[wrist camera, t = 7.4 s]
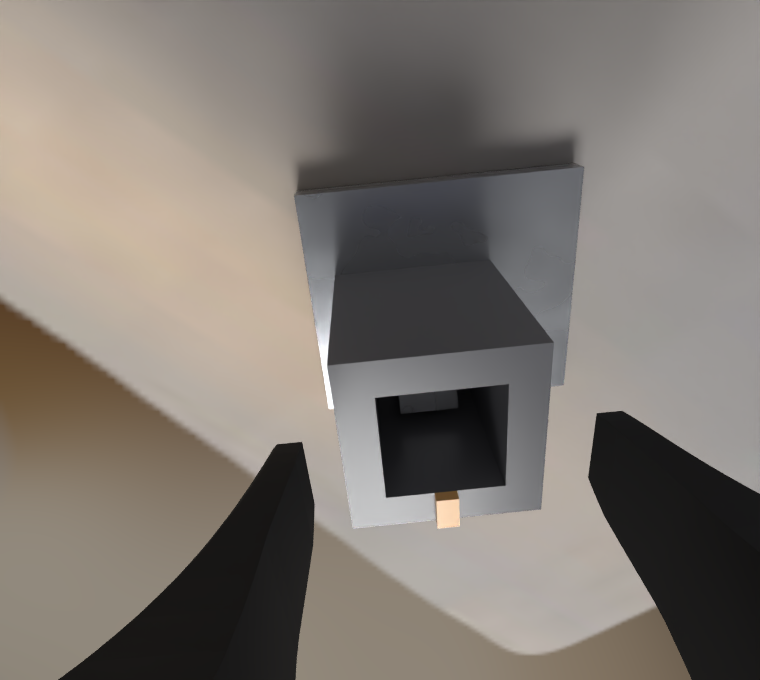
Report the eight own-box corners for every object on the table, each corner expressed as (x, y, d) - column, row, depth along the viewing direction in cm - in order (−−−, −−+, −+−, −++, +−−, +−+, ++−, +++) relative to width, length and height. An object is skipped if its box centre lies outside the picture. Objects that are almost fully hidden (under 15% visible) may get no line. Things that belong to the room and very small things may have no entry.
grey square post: (437, 307, 18) (456, 358, 15) (439, 350, 19) (457, 408, 16) (388, 312, 18) (396, 364, 15) (392, 355, 19) (400, 413, 16)
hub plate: (574, 163, 16) (583, 166, 16) (556, 374, 20) (563, 385, 19) (296, 190, 16) (294, 195, 16) (329, 397, 20) (328, 408, 19)
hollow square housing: (490, 259, 17) (558, 348, 11) (488, 390, 19) (544, 517, 14) (334, 275, 17) (325, 372, 11) (352, 404, 19) (352, 537, 14)
